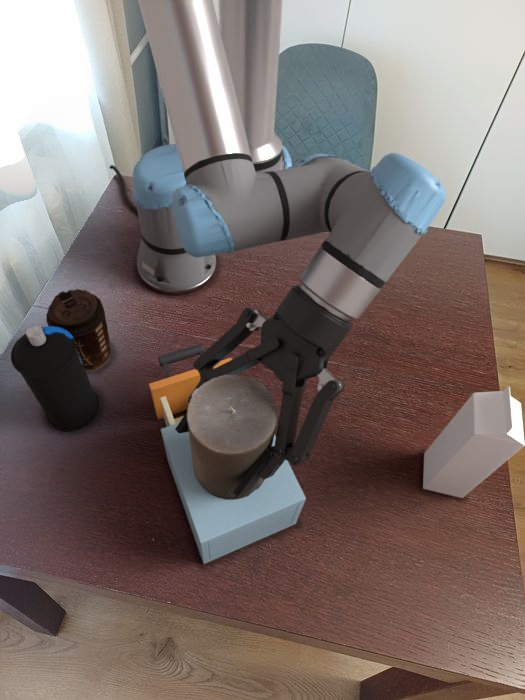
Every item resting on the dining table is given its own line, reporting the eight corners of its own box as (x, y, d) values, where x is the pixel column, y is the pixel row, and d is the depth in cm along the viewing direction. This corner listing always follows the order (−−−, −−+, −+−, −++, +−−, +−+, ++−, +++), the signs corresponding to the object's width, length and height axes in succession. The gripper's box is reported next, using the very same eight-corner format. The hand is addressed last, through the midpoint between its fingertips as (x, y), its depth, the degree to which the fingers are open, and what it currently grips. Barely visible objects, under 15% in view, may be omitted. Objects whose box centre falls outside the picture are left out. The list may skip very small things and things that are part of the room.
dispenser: (167, 461, 74) (160, 428, 65) (252, 429, 78) (256, 395, 69) (203, 564, 66) (200, 543, 57) (295, 523, 70) (306, 498, 61)
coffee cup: (72, 333, 87) (51, 282, 76) (120, 335, 87) (106, 284, 76) (61, 375, 82) (37, 327, 71) (112, 377, 82) (96, 329, 71)
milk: (422, 489, 74) (484, 422, 56) (423, 452, 78) (482, 378, 60) (463, 498, 74) (539, 434, 56) (462, 461, 77) (534, 389, 59)
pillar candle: (251, 512, 60) (258, 464, 48) (179, 481, 62) (168, 427, 49) (280, 443, 65) (292, 385, 53) (212, 417, 67) (210, 354, 55)
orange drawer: (145, 383, 81) (137, 352, 73) (218, 360, 84) (217, 328, 77) (185, 498, 70) (181, 475, 63) (266, 466, 74) (271, 440, 67)
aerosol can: (87, 436, 76) (50, 364, 59) (36, 425, 76) (-15, 350, 60) (107, 391, 80) (78, 312, 64) (59, 381, 81) (18, 300, 65)
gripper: (418, 369, 50) (293, 522, 56) (267, 252, 59) (172, 396, 65) (403, 369, 44) (262, 543, 50) (235, 237, 52) (132, 399, 58)
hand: (211, 460), depth 57 cm, fingers closed on pillar candle, 9 cm apart
